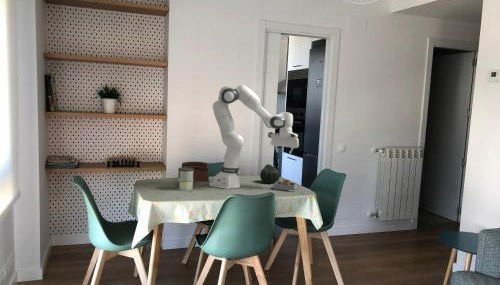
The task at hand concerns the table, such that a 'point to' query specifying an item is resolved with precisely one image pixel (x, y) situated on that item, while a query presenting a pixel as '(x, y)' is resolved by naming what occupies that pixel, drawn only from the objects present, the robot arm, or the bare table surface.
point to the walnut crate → (285, 182)
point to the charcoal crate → (284, 186)
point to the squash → (269, 174)
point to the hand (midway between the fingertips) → (283, 152)
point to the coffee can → (185, 178)
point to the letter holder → (198, 171)
